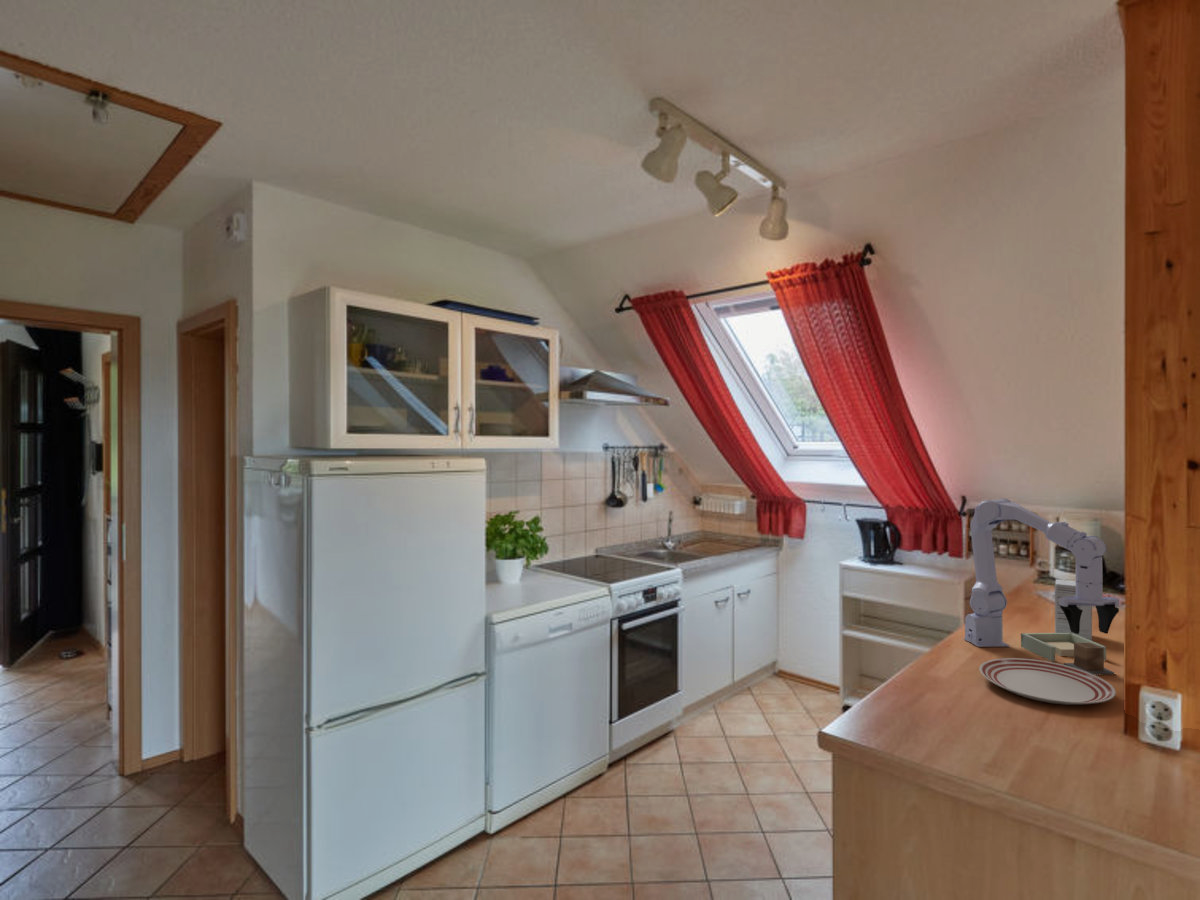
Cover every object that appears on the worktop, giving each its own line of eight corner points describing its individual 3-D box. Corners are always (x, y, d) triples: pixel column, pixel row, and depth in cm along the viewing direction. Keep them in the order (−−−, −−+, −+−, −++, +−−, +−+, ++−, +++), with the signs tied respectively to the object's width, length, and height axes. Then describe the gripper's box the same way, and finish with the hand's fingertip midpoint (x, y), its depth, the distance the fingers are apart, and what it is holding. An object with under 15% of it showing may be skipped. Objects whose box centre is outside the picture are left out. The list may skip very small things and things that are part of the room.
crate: (1051, 661, 175) (1051, 647, 175) (1021, 646, 188) (1020, 633, 188) (1106, 661, 174) (1106, 646, 174) (1071, 646, 187) (1071, 632, 187)
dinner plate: (1143, 718, 139) (1143, 703, 139) (1006, 709, 145) (1006, 694, 145) (1076, 673, 166) (1076, 661, 166) (963, 667, 172) (963, 655, 172)
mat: (1085, 675, 164) (1085, 673, 164) (1063, 664, 172) (1063, 663, 172) (1116, 675, 164) (1116, 673, 164) (1093, 664, 172) (1093, 662, 172)
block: (1086, 670, 166) (1086, 648, 166) (1074, 664, 171) (1073, 642, 171) (1103, 670, 166) (1103, 648, 166) (1090, 664, 171) (1090, 642, 171)
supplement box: (1092, 643, 190) (1092, 587, 190) (1054, 637, 196) (1054, 583, 196) (1091, 635, 198) (1091, 581, 198) (1055, 630, 203) (1055, 578, 203)
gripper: (1072, 585, 164) (1072, 637, 164) (1128, 585, 164) (1128, 636, 164) (1053, 579, 171) (1053, 629, 171) (1107, 579, 171) (1107, 629, 171)
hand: (1089, 632), depth 168 cm, fingers open, 7 cm apart
